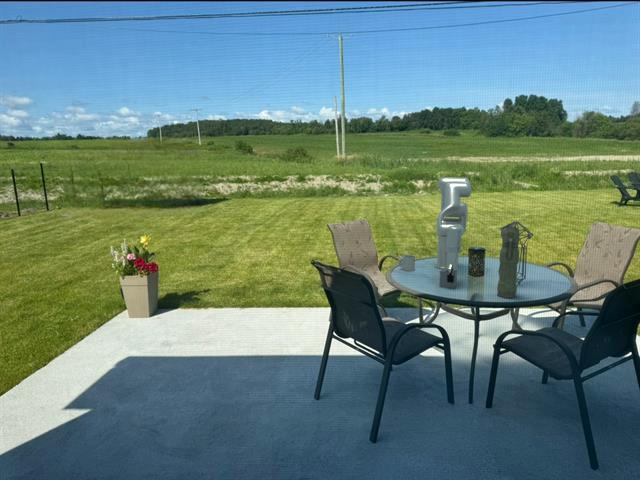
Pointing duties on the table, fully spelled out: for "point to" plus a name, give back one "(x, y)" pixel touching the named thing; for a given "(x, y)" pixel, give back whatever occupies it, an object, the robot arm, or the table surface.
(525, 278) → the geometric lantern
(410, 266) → the cup
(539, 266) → the table surface
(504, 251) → the tall grey column
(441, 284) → the trap cup
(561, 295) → the table surface
